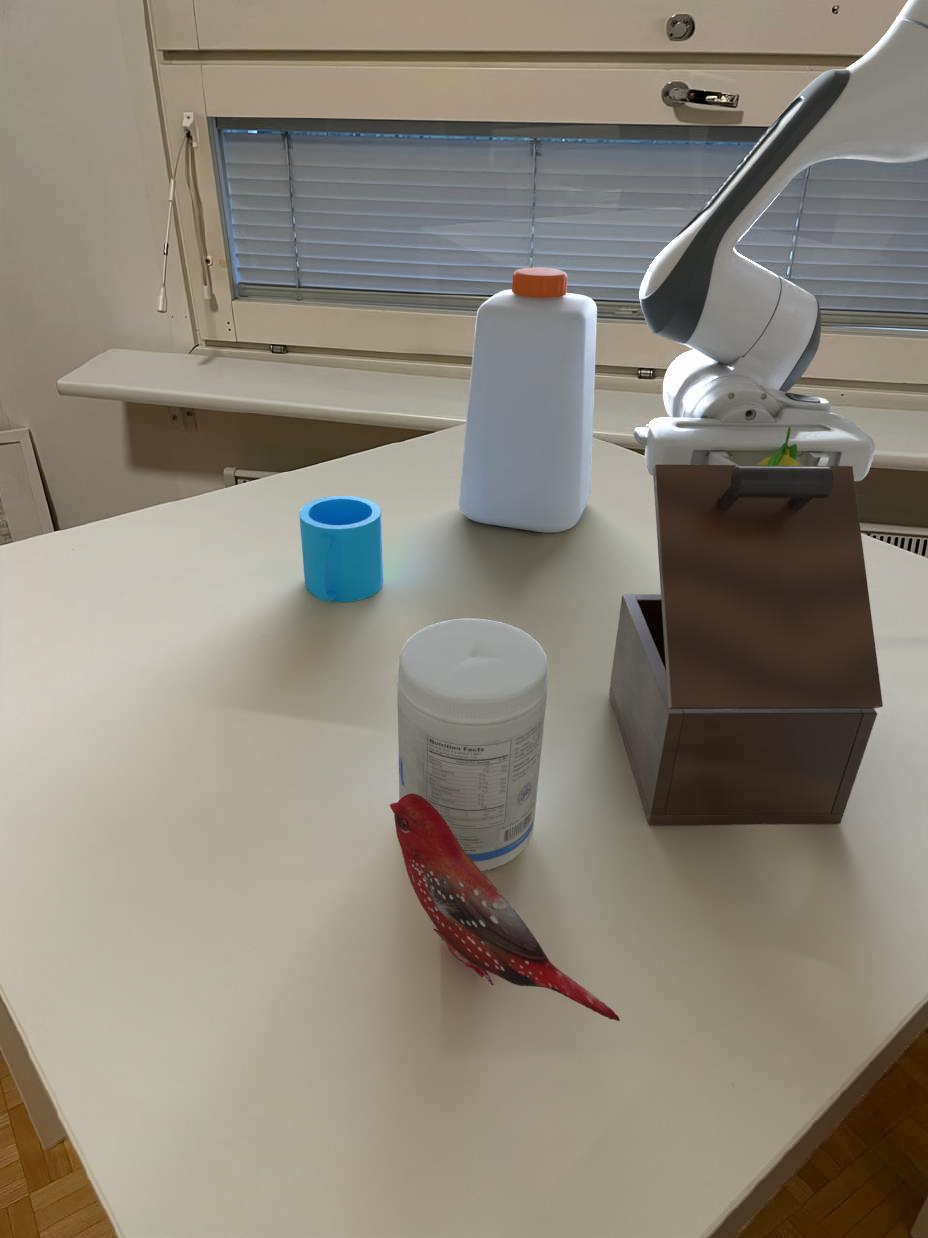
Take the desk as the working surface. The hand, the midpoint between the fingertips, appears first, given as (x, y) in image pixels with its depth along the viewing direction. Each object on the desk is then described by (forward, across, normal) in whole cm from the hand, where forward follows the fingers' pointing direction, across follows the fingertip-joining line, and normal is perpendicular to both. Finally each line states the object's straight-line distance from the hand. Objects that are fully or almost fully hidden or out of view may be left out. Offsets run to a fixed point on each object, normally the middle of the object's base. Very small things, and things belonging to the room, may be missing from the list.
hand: (783, 483), depth 74 cm
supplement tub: (+23, -27, +17) cm, 39 cm away
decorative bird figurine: (+36, -26, +17) cm, 47 cm away
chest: (+15, -7, +17) cm, 24 cm away
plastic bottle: (-33, -18, +17) cm, 41 cm away
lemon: (-1, 0, +6) cm, 6 cm away
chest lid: (+17, -7, +1) cm, 18 cm away
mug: (-11, -39, +17) cm, 44 cm away
